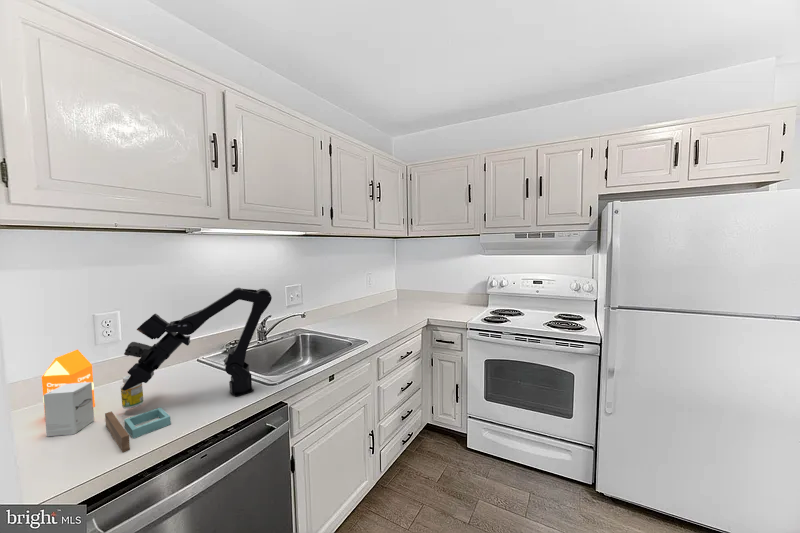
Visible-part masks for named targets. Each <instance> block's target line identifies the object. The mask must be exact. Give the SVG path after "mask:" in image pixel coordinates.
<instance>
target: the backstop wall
mask: <svg viewBox="0 0 800 533" xmlns="http://www.w3.org/2000/svg"><path fill="white" fill-rule="evenodd" d="M104 416H105V418H104V419H105V428H106V429H107V430H108V432H109V433H110V435H111V437H112V439H113V440H114V442H115V443H116V444H117V446H118V448H119V450H120V451H121V453H124V452H127V451H130V446H131V444H130V436H129V435H130V434H129V433H128V431H127V430H126V429H125V427H124V426H123V425H122V424H121V422H120V421H119V419H118V418H117V417H116V415H115V414H114V412H113V411H108V412H106V413H104Z"/></svg>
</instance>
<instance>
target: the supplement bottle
mask: <svg viewBox="0 0 800 533" xmlns="http://www.w3.org/2000/svg"><path fill="white" fill-rule="evenodd" d="M130 376H131V375H130V374H128V375H125V376H124V377H122V384H121V386H120V395H121V406H122V408H123V409H127V410H128V409H133V408H136V407H139V406H141V405H142V404H144V391H143V390H144V388H143V382H142V383H140V384H138V385H136V386H134V387H132V388H130V389H128V390H125V391H124V390H122V388H123V386H124V385H125V383H126V382H127V380H128V379H129V377H130Z"/></svg>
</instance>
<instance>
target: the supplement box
mask: <svg viewBox="0 0 800 533" xmlns="http://www.w3.org/2000/svg"><path fill="white" fill-rule="evenodd" d="M44 408H45V412H44V420H45V432H46V437H58V436H69V435H70V436H71V435H76V434H77V433H78V432H80V430H82V429H84V428H86V427H87V426H88V425H89V424H92V423H93V422H94V421H95V416H94V415H95V413H94V412H95V411H94V407H93V396H92V382H83V383H71V384H64V385H62V386H60V387H58V388H56V389H54V390H52V391H50V392H48V393H46V394H44V403H43V409H44Z"/></svg>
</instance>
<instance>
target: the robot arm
mask: <svg viewBox="0 0 800 533" xmlns="http://www.w3.org/2000/svg"><path fill="white" fill-rule="evenodd" d="M272 298H273V297H272V294H271V292H270V291H269V289H266V288H259V289H251V288H241V287H235V288H234V289H232V291H230V292H228V293H227V294H225V295H224V296H222V297H220V298H218V299H217V300H216V301H214V302H212V303H210V304H209V305H207V306H206V307H204V308H203V309H200V310H197V311H194V312H192V313H190V314H187V315H185V316H183V317H182V318H181V319H178V320H174V321H170V322H168V321H166V320H165V319H163V318H162V317H160V315H158V314H157V313H154V314H152V315H151V316H150V317H149V318H148V319H146V320H145V321H144V322H143V323H142V324H140V326H138V327H137V328H136V331H138V332H139V333H141V334H142V335H144V336H146V337H147V338H149V339H150V340H156V339H157V340H159V341H158V342H156V343H154V344H153V345H148V344H145V343H141V342H137V341H131V342H130V343H129V344H128V345H127V347H126V348H125V350H124V354H123V355H124V356H127V357H129V356H131V357H134V358H139V359H138V362H137V363H134V364H133V365H132V366H131V367H130V368H129V369H128V371H127V374H128V375H131V376H130V377H129V379H128V380H127V382H126V383H125V385H124V386H123V388H122V390H124V391H125V390H128V389H130V388H132V387H134V386H136V385H138V384H140V383H142V384H143V383H144V384H147V383H148V382H149V381H150V380H151V379H152V377H154V375H155V373H154V372H155V371H156V370H157V369H159V368H160V367H161V365H162V364H163V363H164V362H165V361H166V360H167V359H169V358H170V357H171V356H172V354H173V353H174V352H175V351H176V350H177V349H178V348H180V346H181V345H182V344H184V345H186V346H189V345H190V344H191V335H193V333H195V332H196V331H198V329H199V328H201V327H202V325H204V324H205V323H206V322H207V321H208V320H209V319H211V318H212V317H214V316H216V315H217V314H218V313H220V312H222V311H223V310H225V309H226V308H228V307H229V306H231V305H232V304H235V303H236V302H237V301H245V302H249V303H252V305H251V306H252V307H251V311H250V312H249V316H248V318H247V320H246V322H245V325H244V327H243V330H242V331H241V335H240V337H239V339H238V341H237V344H236V346H235V347H234V348H233V349H229V350H228V354H227V356H226V357H225V359H224V366H225V367H224V370H225V373H226V374H228V375H229V376H230V380H229V382H228V383H229V393H231V394H232V395H233V396H234V397H240V396H243V395H247V394H249V393H252V392H254V391H255V390H254V389H253V385H252V384H253V383H252V373H251V372H250V370H251V369H250V367H251V366H250V364H249V363H248V362H246V361H245V360H246V355H247V350H248V348H249V345H250V344H251V340H252V338H253V336H254V333H255V331H256V330H257V327H258V324H259V322H260V319H261V316H262V315H263V314H264V312H265V311H266V309H267V308H268V306H269V305H270V304H271V302H272ZM165 333H166V334H165ZM162 336H163V337H162ZM161 337H162V338H161Z"/></svg>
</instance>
